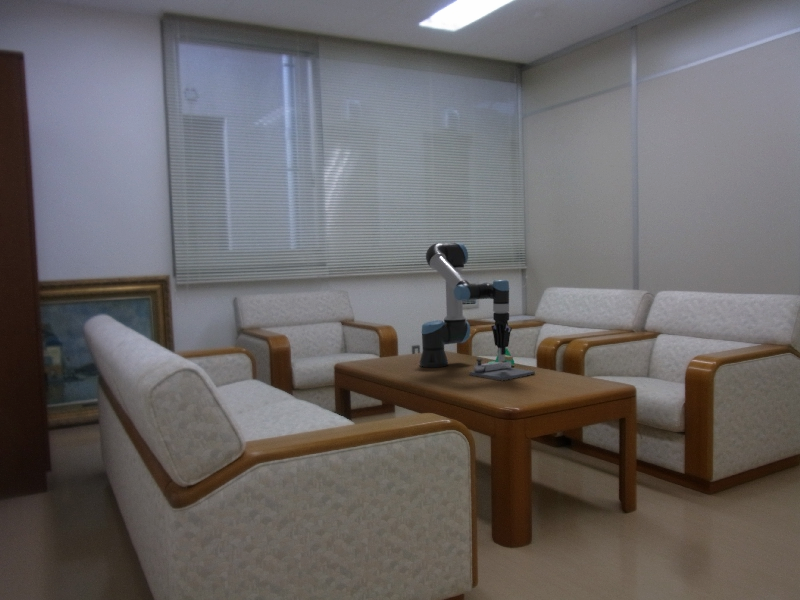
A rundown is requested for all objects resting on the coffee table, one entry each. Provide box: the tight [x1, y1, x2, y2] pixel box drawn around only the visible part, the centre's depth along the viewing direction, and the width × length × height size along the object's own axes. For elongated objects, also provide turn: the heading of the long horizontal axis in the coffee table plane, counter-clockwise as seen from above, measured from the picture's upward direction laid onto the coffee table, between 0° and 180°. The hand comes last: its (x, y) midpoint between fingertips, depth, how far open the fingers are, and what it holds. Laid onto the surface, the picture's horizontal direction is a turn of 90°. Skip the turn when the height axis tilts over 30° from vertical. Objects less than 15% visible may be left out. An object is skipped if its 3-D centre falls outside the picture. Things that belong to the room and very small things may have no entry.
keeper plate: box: [468, 355, 536, 382], centre depth 316 cm, size 22×22×8 cm
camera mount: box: [486, 347, 515, 366], centre depth 340 cm, size 12×8×10 cm, turn 120°
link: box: [473, 358, 512, 372], centre depth 322 cm, size 20×5×6 cm, turn 121°
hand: (501, 360), depth 318 cm, fingers closed
